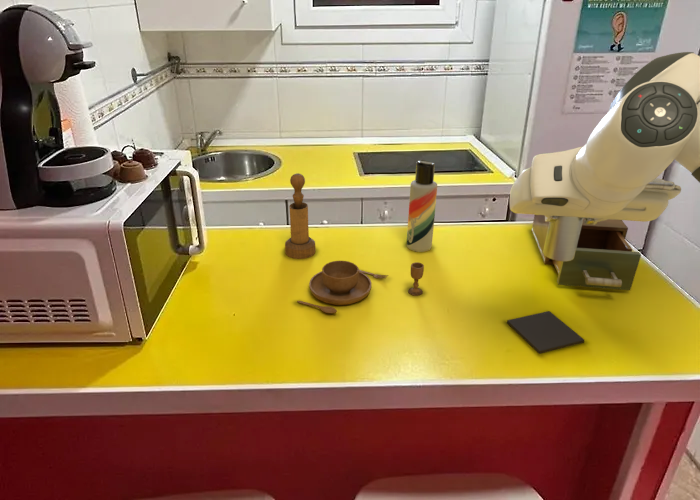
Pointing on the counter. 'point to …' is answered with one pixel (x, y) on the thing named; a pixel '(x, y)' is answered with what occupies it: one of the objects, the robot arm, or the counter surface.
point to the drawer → (600, 262)
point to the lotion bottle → (422, 208)
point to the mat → (545, 332)
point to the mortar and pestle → (299, 223)
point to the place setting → (349, 284)
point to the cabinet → (613, 225)
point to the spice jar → (562, 238)
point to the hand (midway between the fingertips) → (569, 218)
